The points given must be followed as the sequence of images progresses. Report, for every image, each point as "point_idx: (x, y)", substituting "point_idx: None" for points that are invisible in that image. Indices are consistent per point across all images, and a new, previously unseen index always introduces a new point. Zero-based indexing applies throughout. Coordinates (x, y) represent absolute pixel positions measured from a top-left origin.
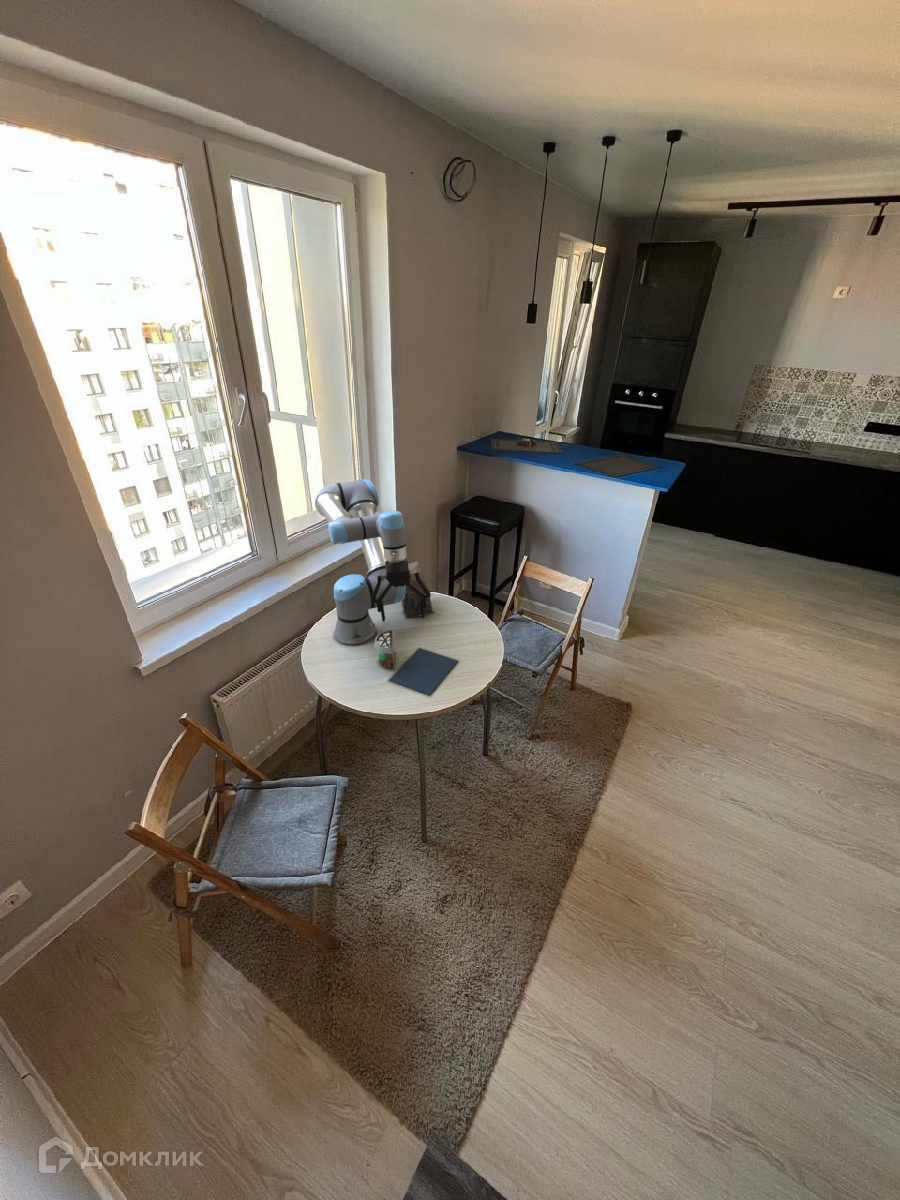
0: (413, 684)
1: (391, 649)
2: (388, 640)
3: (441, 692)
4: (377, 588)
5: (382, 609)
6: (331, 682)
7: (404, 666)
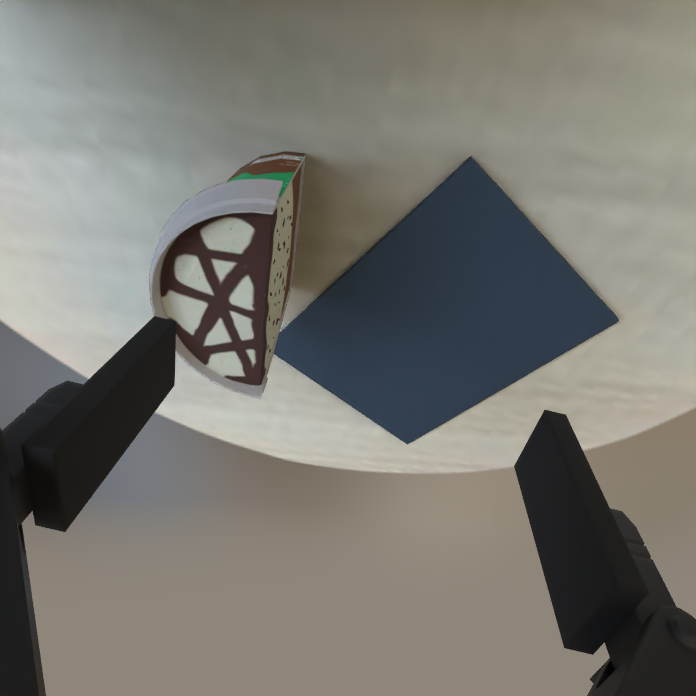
0: (361, 393)
1: (260, 391)
2: (242, 314)
3: (452, 439)
4: None
5: (103, 473)
6: (12, 291)
7: (345, 291)
